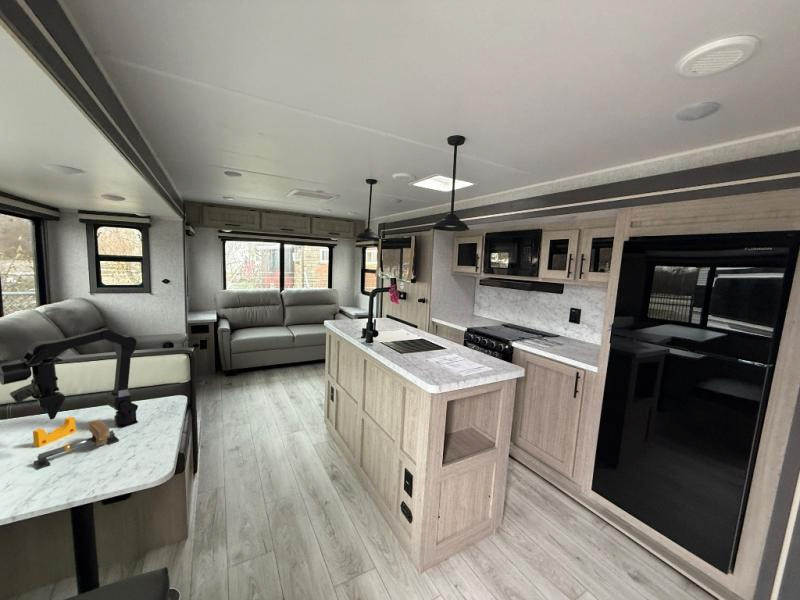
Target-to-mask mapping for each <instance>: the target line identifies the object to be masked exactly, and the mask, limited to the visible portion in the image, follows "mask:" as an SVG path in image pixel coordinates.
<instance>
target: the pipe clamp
mask: <svg viewBox="0 0 800 600" xmlns="http://www.w3.org/2000/svg"><path fill="white" fill-rule="evenodd" d="M76 432H77V427H76V417H74V416H69V417H65V418H64V421H63V424H62V425H60V426H58V427H56V428H55V429H54V430H52V431H50V432H48V433H46V430H45V428H37V429H34V430H32V436H33V446H34V448H42V447H44V446H46V445H49V444H50V443H53V442H56V441H58V440H60V439H62V438H65V437H67V436H69V435H72V434H75V433H76Z"/></svg>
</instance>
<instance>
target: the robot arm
mask: <svg viewBox="0 0 800 600" xmlns="http://www.w3.org/2000/svg"><path fill="white" fill-rule="evenodd" d="M103 340H106V341H108V342H110V343H113V349H114V351H115V354H116V361H115V362H116V364H115V374H114V375H115V376H114V386H113V389H112V392H107V395H106V396H107V399H106V401H105V402H106V403H107V405H108V407H110V408H112V409H114V410H115V415H114V417H113V418H114V425H115V426H117V427H118V428H119V429H122V428H126V427H129V426H131V425H134V424H138V423H139V421H138V420H137V410H138V408H139V405H138V404H136V403H133V402H132V396H131V393H130V391H129V380H130V370H131V357H132V355H134V352H135V350H136V347H137V344H138V342H137V341H138V340H137V339H136V338H135V337H132V336H129V335H126V334H119V333H116V332H114V331H112V330H110V329H107V328H100V329H97V330H94V331H90V332H86V333H82V334H77V335H74V336H70V337H66V338H61V339H60V338H59V339H51V340H49V339H48V340H39V341H35V342H32V343H30V345H29V346H28V347H27V352H25V354H24V355H23V356H22V358H20V360H19V361H18V362H12V363H4V364H0V384H1V385H2V386H5V385H9V384H15V383H18V382H19V383H20V382H24V381H27V380H28V379H29V378H30V379H31V377H32V379H31V380H30V382H31V383H29V384H27V385H24V386H22V387H20V388H18V389H15V390H13V391H11V392H9V395H10V397H11V398H12V399H13V401H14V402H15V403H16V404H17V403H18V404H19V403H21V402H23V401H25V400H26V399H28V398H30V397H31V398H33V399H36V400H37V404H38V406H39V408H42V410H43V413H46V414H47V416H48V417H49V419H50V421H51V420H54V419H55V418H56V416H57V414H58V412H59V410H60V408H61V407H62V405H63V403H64V402H65V401H66V398H65V394H64V393H63V392H61V391H60V388H59V386H58V380H59V379H58V378H59V377H58V376H57V371H56V370H57V369H56V365H55V364H56V363H58V362H59V363H60V362H63V359H62V358H60V357H59V356H58V355H60V354H61V353H62V354H63V352H66V351H67V350H70V349H75V348H78V347H81V346H85V345H89V344H92V343H96V342H100V341H103Z"/></svg>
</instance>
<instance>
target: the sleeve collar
mask: <svg viewBox="0 0 800 600" xmlns="http://www.w3.org/2000/svg"><path fill="white" fill-rule="evenodd" d="M88 431H89V432H90V433H91V434H92V435H91V437H94V436H95V437H96V441H95V442H92V443H93V444H94V445H95V446H96V447H99V446H102V445H105V444H108V443H107V438H109V437H110V433H109V432H110V428H109V427H108V426H107V425H106V424H105V423H104V422H102V420H101V419H96V420H95V419H94V420H93V421H89V422H88Z"/></svg>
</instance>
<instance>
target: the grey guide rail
mask: <svg viewBox="0 0 800 600" xmlns="http://www.w3.org/2000/svg"><path fill="white" fill-rule="evenodd" d="M109 433H110V437H109V438H107V443H106V444H108V445H109V446H111V445H113V444H115V443H119V442H120V439H119V438H118V437H117V436H115V435H116V433H115V432H114V431H113V430H109ZM95 441H96V437H95V436H94V437H92V436H91V437H89V438H86V439H85V438H84V439H82V440H79V441H76V442H73V443H68V444H66V445H63V446H59V447H57V448H54V449H51V450H48V451H44V452H41V453H38V455H37V456H36V457H37V459H36V460H34V461H33V464H34V466H35V467H36V469H37V470H40V469H43V468H47V467H49V466H51V462H50V461H49V459H48V458H49V457H52V456H56V455H58V454H63V453H64V452H65V453H66V452H69V451H71V450H73V449H77V448H81V447H84V446H86V445H89V444H92V443H93V442H95Z"/></svg>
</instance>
